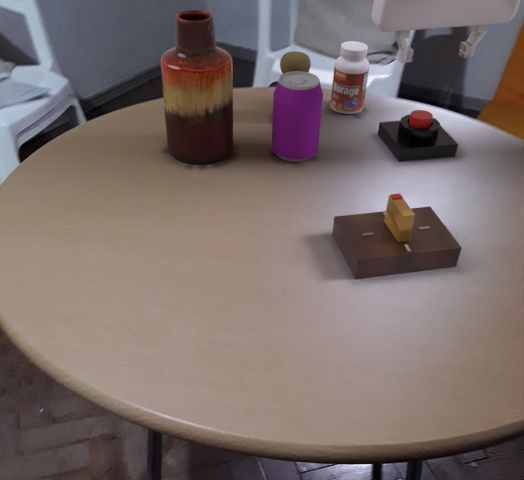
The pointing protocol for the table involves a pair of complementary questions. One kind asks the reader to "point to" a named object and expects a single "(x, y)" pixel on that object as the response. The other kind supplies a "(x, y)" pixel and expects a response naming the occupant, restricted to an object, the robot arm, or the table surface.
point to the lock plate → (394, 244)
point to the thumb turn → (399, 217)
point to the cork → (295, 62)
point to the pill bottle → (350, 78)
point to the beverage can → (296, 116)
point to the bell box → (416, 140)
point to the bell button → (420, 119)
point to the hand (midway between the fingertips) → (435, 59)
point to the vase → (197, 92)
